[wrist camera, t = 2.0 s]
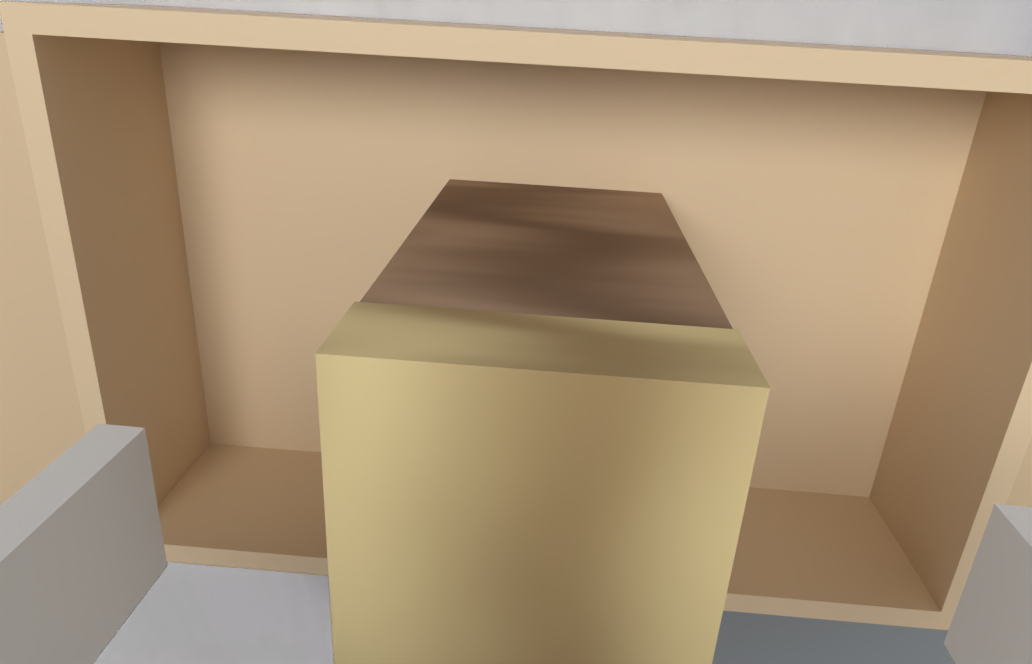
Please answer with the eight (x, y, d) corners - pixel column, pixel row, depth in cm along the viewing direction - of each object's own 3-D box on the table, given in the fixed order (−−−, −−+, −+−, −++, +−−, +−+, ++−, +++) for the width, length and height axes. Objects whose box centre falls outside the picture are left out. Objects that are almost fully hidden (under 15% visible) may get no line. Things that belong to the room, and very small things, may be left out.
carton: (88, 441, 26) (-28, 544, 21) (-2, -4, 20) (-191, -10, 15) (1000, 516, 25) (1112, 644, 20) (1172, 64, 19) (1388, 81, 14)
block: (444, 369, 23) (334, 682, 12) (447, 177, 21) (315, 353, 10) (637, 384, 23) (700, 717, 12) (663, 191, 21) (770, 388, 10)
